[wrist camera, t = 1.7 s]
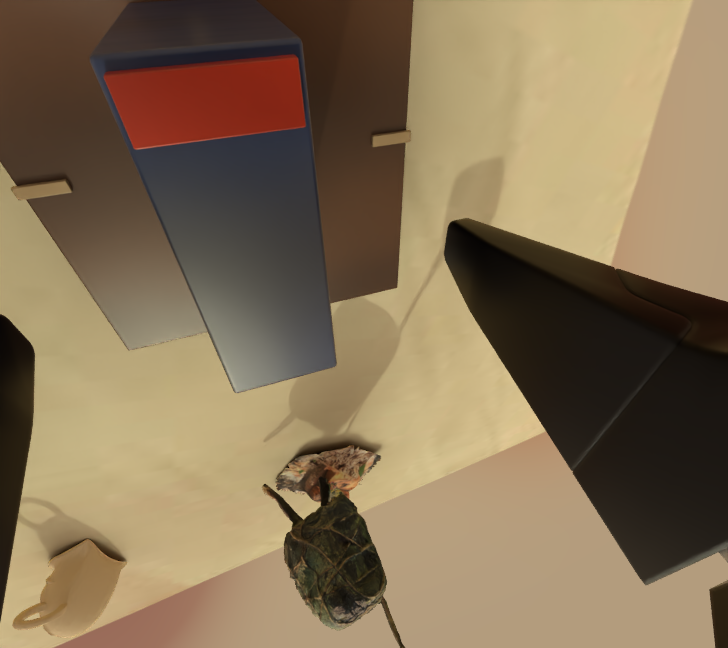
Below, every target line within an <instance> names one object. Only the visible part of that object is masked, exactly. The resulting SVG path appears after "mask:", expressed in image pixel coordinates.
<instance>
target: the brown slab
mask: <svg viewBox="0 0 728 648" xmlns="http://www.w3.org/2000/svg"><path fill="white" fill-rule="evenodd" d="M156 1H173V0H0V162H1V163H2V165H3V166H4V168H5V169H6V171H7V172H8V174H9V175H10V176H11V178H12V179H13V181H14V182H15V184H16V185H17V186H13V187H12V188H11V190H12V192H13V193H14V194H15V196H16V197H17V199H18V200H25V199H26V200H27V202H28V203H29V204H30V206H31V207H32V209H33V210H34V212H35V213H36V215H37V216H38V218H39V219H40V221H41V222H42V224H43V225H44V227H45V228H46V229H47V231H48V232H49V234H50V235H51V237H52V238H53V240H54V241H55V243H56V244H57V246H58V247H59V249H60V250H61V252H62V253H63V255H64V256H65V257H66V259H67V260H68V262H69V263H70V265H71V266H72V268H73V269H74V271H75V272H76V274H77V275H78V277H79V278H80V280H81V281H82V282H83V284H84V285H85V287H86V288H87V290H88V291H89V293H90V294H91V296H92V297H93V299H94V300H95V302H96V303H97V305H98V306H99V308H100V309H101V310H102V312H103V313H104V315H105V316H106V318H107V319H108V321H109V322H110V324H111V325H112V327H113V328H114V330H115V331H116V333H117V334H118V336H119V337H120V338H121V340H122V341H123V343H124V344H125V346H126V347H127V349H128V350H133V349H138V348H142V347H146V346H151V345H155V344H159V343H163V342H168V341H172V340H176V339H180V338H185V337H189V336H193V335H197V334H202V333H206V332H208V331H207V329H206V327H205V324H204V322H203V320H202V317H201V315H200V313H199V311H198V308H197V306H196V304H195V301H194V299H193V297H192V295H191V292H190V290H189V288H188V285H187V283H186V281H185V279H184V276H183V274H182V272H181V269H180V267H179V265H178V263H177V260H176V258H175V256H174V253H173V251H172V249H171V247H170V244H169V242H168V240H167V237H166V235H165V233H164V231H163V228H162V226H161V224H160V221H159V219H158V217H157V214H156V212H155V210H154V208H153V205H152V203H151V201H150V198H149V196H148V194H147V192H146V189H145V187H144V185H143V182H142V180H141V178H140V176H139V173H138V171H137V169H136V166H135V164H134V162H133V160H132V157H131V155H130V153H129V150H128V148H127V146H126V144H125V141H124V139H123V137H122V134H121V132H120V130H119V128H118V125H117V123H116V121H115V118H114V116H113V114H112V112H111V109H110V107H109V105H108V102H107V100H106V98H105V96H104V93H103V91H102V89H101V86H100V84H99V82H98V80H97V77H96V75H95V73H94V70H93V68H92V66H91V64H90V57H89V56H90V55H91V53H92V52H93V51H94V49H95V48H96V46H97V45H98V44H99V42H100V41H101V40H102V38H103V37H104V36H105V34H106V33H107V31H108V30H109V29H110V27H111V26H112V25H113V23H114V22H115V21H116V19H117V18H118V16H119V15H120V14H121V12H122V11H123V10H124V8H125V7H126V6H127V4H129V3H139V2H156ZM256 1H257V2H259V3H260V4H261V5H262V6H263V7H264V8H266V9H267V10H268V11H269V12H270V13H271V14H273V15H274V16H275V17H276V18H277V19H278V20H280V21H281V22H282V23H283V24H284V25H285V26H287V27H288V28H289V29H290V30H291V31H292V32H294V33H295V34H296V35H297V36H298V37H299V38H300V39H301V41H302V43H303V52H304V61H305V71H306V80H307V90H308V99H309V108H310V118H311V127H312V137H313V146H314V155H315V165H316V174H317V184H318V193H319V202H320V212H321V221H322V231H323V240H324V249H325V259H326V268H327V278H328V287H329V296H330V303H334V302H338V301H343V300H347V299H351V298H355V297H360V296H364V295H368V294H373V293H377V292H381V291H385V290H390V289H394V288H397V283H398V265H399V247H400V229H401V211H402V193H403V176H404V158H405V142H410V137H411V131H410V130H406V122H407V104H408V86H409V68H410V50H411V32H412V14H413V0H256Z"/></svg>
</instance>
